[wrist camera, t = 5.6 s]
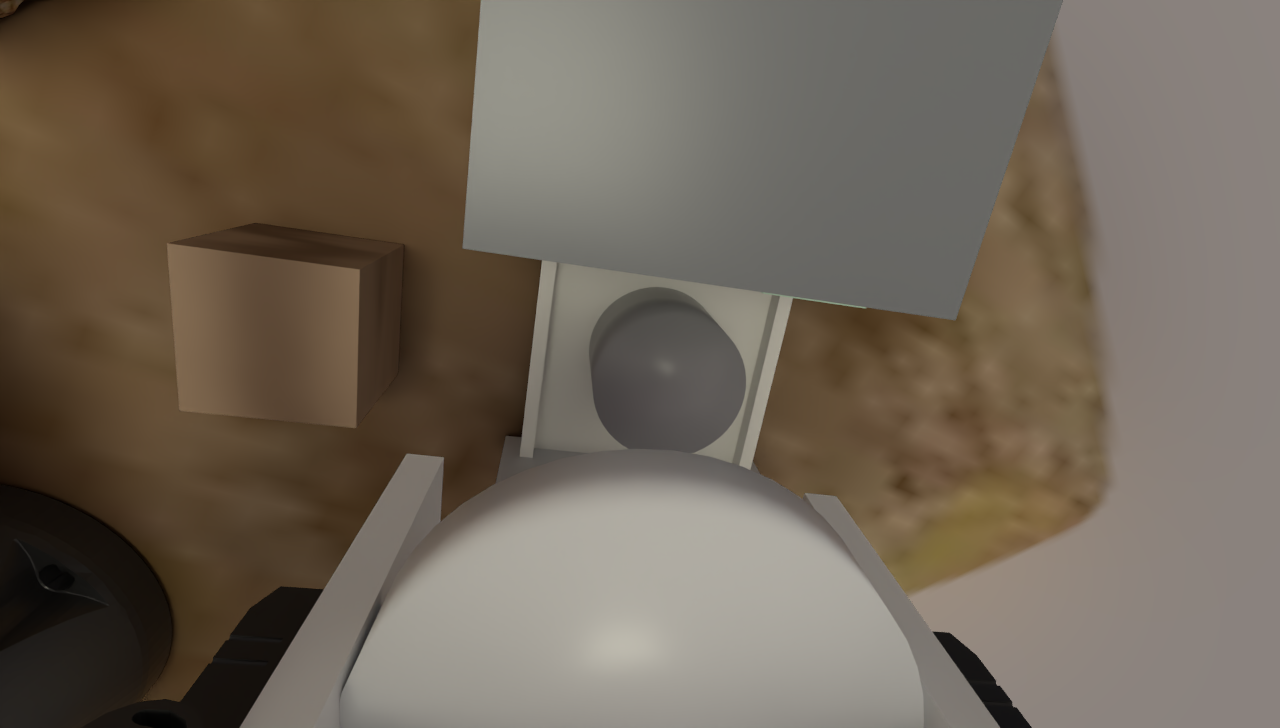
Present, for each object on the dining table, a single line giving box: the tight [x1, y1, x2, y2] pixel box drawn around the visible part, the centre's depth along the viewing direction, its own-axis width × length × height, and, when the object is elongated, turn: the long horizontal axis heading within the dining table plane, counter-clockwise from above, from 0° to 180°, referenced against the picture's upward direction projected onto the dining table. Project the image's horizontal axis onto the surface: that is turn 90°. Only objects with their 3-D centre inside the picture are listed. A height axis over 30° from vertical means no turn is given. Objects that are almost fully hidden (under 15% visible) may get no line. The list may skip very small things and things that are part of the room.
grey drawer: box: [495, 260, 793, 484], centre depth 25 cm, size 13×16×7 cm
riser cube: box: [167, 223, 404, 428], centre depth 24 cm, size 6×6×6 cm
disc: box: [340, 449, 924, 728], centre depth 9 cm, size 8×8×2 cm
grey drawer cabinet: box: [463, 0, 1063, 320], centre depth 20 cm, size 15×16×10 cm
